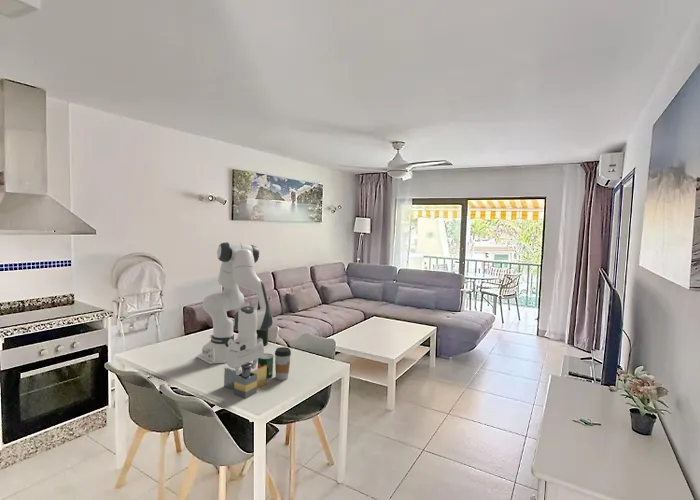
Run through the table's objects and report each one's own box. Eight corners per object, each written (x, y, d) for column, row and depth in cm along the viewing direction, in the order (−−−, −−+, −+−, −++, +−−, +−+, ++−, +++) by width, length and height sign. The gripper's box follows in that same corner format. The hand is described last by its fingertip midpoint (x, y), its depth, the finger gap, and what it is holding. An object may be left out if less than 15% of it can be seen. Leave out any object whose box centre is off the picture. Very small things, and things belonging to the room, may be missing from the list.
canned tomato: (256, 379, 192) (256, 358, 192) (258, 373, 200) (259, 353, 200) (271, 379, 193) (272, 358, 192) (273, 373, 201) (274, 353, 200)
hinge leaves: (218, 388, 180) (219, 370, 179) (245, 376, 195) (245, 359, 194) (245, 398, 172) (246, 379, 171) (270, 385, 186) (271, 367, 186)
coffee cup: (286, 381, 191) (287, 353, 190) (271, 379, 193) (272, 351, 192) (292, 375, 200) (293, 348, 199) (277, 373, 201) (278, 346, 200)
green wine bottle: (265, 347, 242) (267, 296, 240) (249, 346, 242) (251, 295, 240) (269, 342, 252) (271, 293, 250) (254, 341, 253) (256, 292, 251)
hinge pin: (237, 394, 175) (238, 364, 174) (245, 390, 180) (246, 361, 179) (245, 397, 173) (246, 367, 172) (253, 392, 177) (254, 363, 176)
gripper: (257, 335, 185) (256, 363, 186) (225, 346, 168) (224, 376, 168) (267, 338, 182) (266, 366, 183) (235, 349, 164) (234, 380, 165)
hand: (246, 371), depth 176 cm, fingers open, 8 cm apart
